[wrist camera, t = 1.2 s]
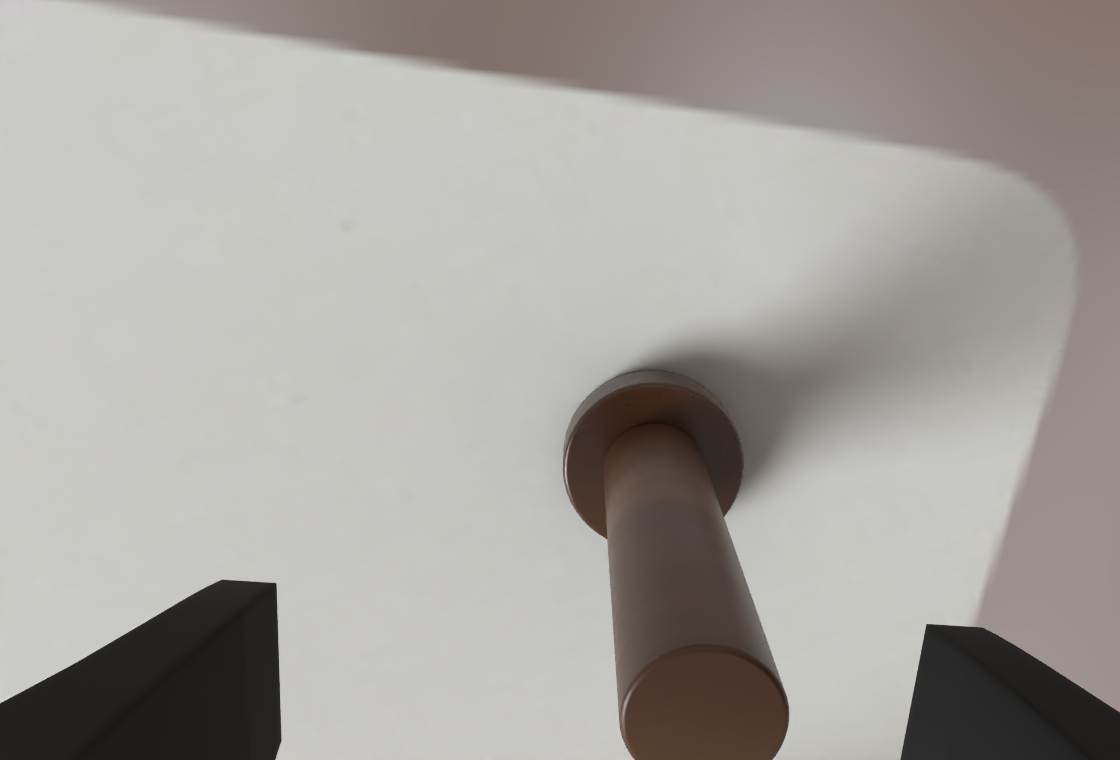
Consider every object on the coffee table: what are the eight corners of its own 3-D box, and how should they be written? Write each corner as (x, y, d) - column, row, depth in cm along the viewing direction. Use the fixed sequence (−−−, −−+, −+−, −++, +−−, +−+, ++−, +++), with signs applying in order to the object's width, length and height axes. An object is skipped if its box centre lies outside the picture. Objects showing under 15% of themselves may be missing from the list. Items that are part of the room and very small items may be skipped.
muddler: (722, 539, 20) (829, 861, 12) (555, 522, 20) (537, 833, 12) (749, 379, 19) (887, 601, 11) (572, 360, 19) (568, 568, 11)
